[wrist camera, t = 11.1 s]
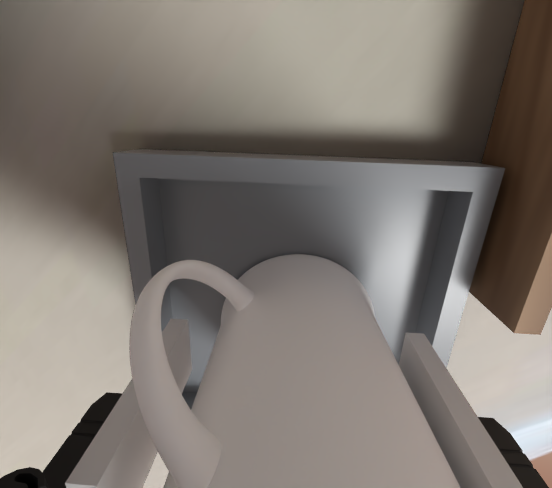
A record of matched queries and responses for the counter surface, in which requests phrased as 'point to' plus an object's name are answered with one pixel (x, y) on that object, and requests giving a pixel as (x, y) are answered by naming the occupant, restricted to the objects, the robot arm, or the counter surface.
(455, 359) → the counter surface
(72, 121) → the counter surface
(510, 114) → the bay
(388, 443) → the mug
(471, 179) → the tray
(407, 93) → the counter surface
